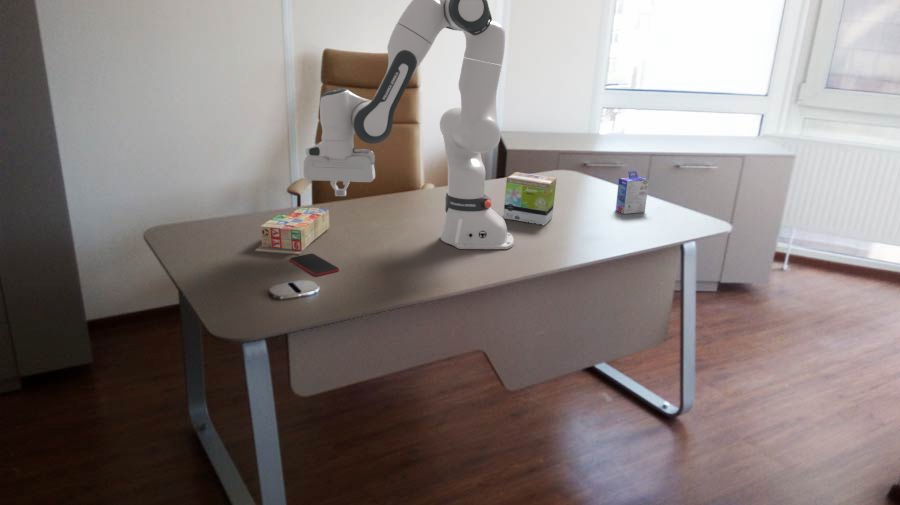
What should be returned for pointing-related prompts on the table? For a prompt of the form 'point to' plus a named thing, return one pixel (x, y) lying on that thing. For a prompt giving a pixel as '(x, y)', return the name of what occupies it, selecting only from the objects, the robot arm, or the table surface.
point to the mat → (278, 250)
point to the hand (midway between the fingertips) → (340, 195)
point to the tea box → (529, 198)
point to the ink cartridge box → (632, 194)
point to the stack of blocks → (295, 229)
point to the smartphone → (314, 264)
